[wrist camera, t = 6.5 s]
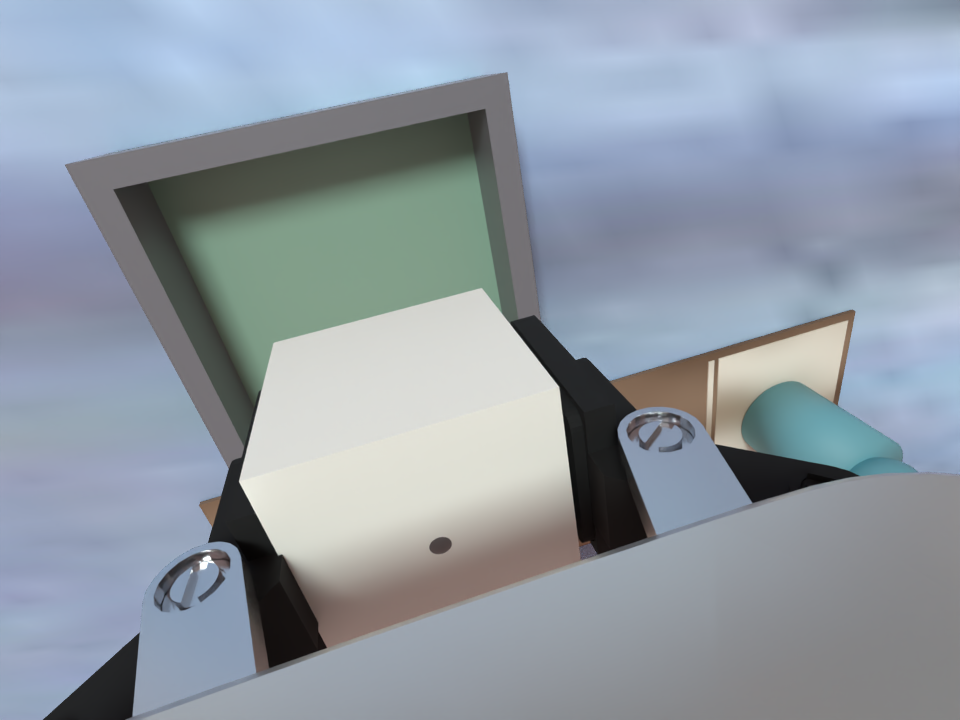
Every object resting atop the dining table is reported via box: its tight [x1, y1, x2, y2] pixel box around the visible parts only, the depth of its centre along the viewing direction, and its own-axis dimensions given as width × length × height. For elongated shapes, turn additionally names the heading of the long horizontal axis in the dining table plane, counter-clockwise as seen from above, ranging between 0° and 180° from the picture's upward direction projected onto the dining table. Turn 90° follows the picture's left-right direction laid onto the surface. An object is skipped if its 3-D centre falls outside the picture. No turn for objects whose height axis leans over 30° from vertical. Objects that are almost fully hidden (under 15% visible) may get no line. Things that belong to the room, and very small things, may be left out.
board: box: [199, 310, 855, 547], centre depth 27 cm, size 10×32×1 cm, turn 100°
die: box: [239, 288, 581, 648], centre depth 10 cm, size 5×5×5 cm
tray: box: [65, 72, 541, 468], centre depth 18 cm, size 12×12×3 cm
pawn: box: [741, 381, 918, 476], centre depth 24 cm, size 4×4×8 cm
